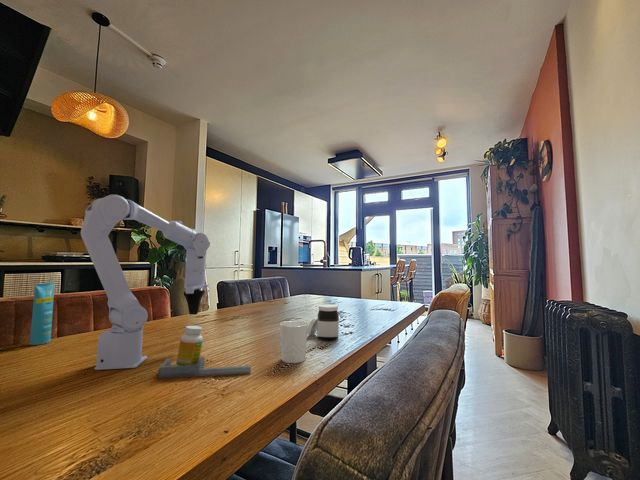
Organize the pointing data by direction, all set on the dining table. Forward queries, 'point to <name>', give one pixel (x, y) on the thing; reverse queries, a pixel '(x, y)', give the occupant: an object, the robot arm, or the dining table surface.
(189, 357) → the supplement bottle
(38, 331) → the tube
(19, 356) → the dining table surface
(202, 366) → the rail
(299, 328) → the white cup
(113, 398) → the dining table surface
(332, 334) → the spread jar
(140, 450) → the dining table surface
